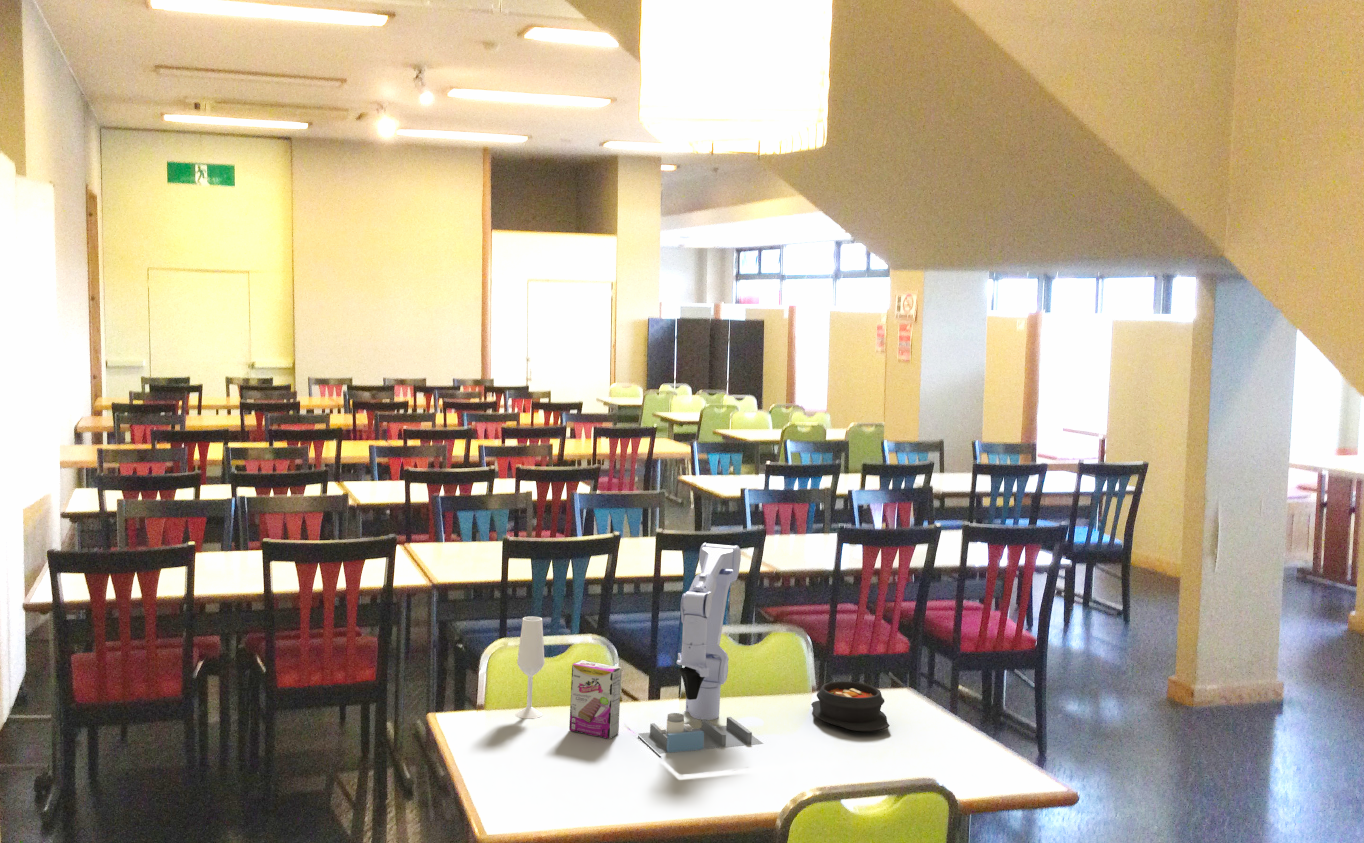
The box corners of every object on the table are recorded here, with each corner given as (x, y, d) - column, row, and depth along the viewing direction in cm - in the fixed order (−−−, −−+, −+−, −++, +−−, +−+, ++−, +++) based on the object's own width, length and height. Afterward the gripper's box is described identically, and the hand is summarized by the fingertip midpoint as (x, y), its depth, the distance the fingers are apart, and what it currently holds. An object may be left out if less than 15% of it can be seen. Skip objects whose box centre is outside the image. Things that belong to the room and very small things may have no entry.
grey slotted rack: (637, 737, 285) (638, 716, 284) (737, 728, 294) (738, 708, 294) (659, 757, 272) (660, 736, 271) (763, 747, 282) (764, 726, 281)
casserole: (907, 735, 296) (908, 701, 295) (839, 740, 289) (841, 706, 289) (858, 704, 319) (859, 673, 318) (794, 709, 312) (796, 677, 312)
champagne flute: (536, 720, 294) (539, 623, 293) (510, 716, 296) (514, 620, 294) (546, 712, 301) (550, 617, 299) (521, 708, 302) (525, 614, 301)
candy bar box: (568, 731, 287) (570, 663, 286) (578, 725, 291) (581, 659, 290) (609, 740, 282) (612, 671, 281) (619, 734, 287) (622, 666, 285)
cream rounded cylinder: (663, 738, 282) (664, 713, 281) (679, 737, 283) (680, 712, 283) (669, 744, 278) (671, 718, 277) (685, 742, 279) (687, 717, 279)
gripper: (667, 635, 290) (664, 691, 291) (690, 651, 277) (687, 709, 277) (694, 634, 293) (691, 689, 294) (718, 649, 279) (715, 706, 280)
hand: (691, 698), depth 286 cm, fingers closed
